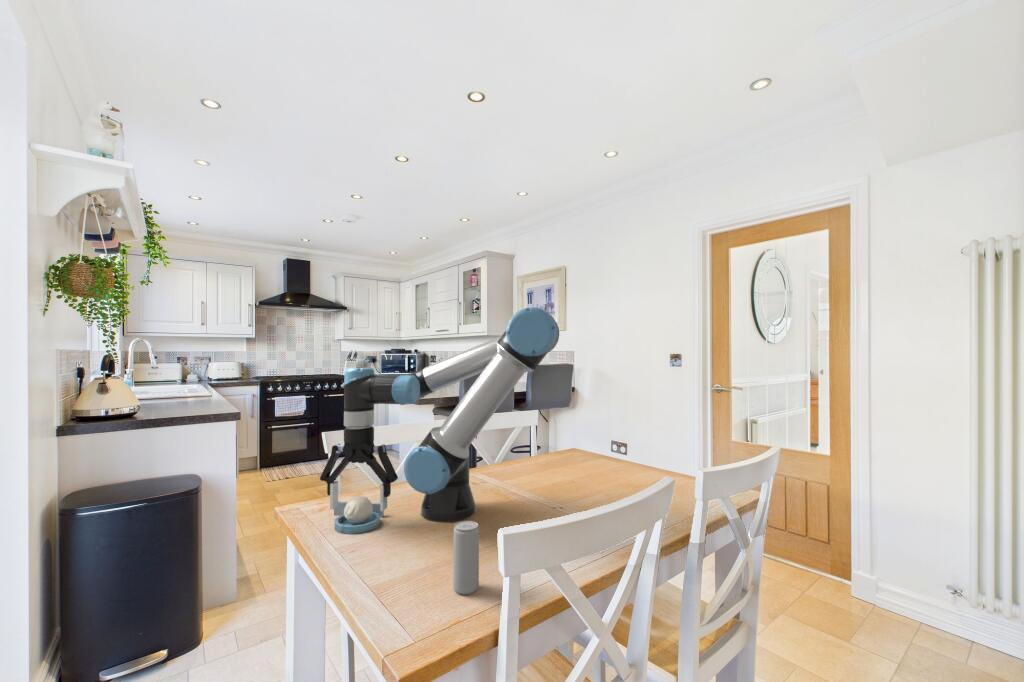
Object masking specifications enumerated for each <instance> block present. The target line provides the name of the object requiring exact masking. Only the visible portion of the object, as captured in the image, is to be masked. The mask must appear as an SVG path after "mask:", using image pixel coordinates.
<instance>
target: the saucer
mask: <svg viewBox="0 0 1024 682" xmlns="http://www.w3.org/2000/svg"><path fill="white" fill-rule="evenodd" d="M380 523H381V517H380V516H379V514H378V513H375V512H372V514H371V516H370V518H369V519H368V520H367V521H365V522H363V523H360V524H353V523H351V522H349V521H348V520H347V519H346V518H345V516H344V515H338V517H336V518H334V530H335V532H337V533H340V534H343V535H345V534H346V535H355V534H356V535H357V534H363V533H367V532H370V531H373V530H375V529H376V528H378V527H379V525H380Z"/></svg>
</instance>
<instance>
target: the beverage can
mask: <svg viewBox="0 0 1024 682" xmlns="http://www.w3.org/2000/svg"><path fill="white" fill-rule="evenodd" d="M452 554H453V565H452V567H453V571H452V572H453V573H452V574H453V578H452V580H453V581H452V582H453V583H452V585H453V586H452V587H453V590H454V591H455V593H457V594H459V595H464V596H468V595H472V594H474V593H476V591H477V590H478V589H479V587H480V584H479V582H480V579H479V578H480V528H479V523H477V522H476V521H472V520H464V521H463V520H461V521H457V522H456V523H454V526H453V553H452Z"/></svg>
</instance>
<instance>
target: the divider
mask: <svg viewBox="0 0 1024 682" xmlns="http://www.w3.org/2000/svg"><path fill="white" fill-rule="evenodd" d="M348 502H349V501H341V500H340V501H339V500H338V506H337V507H336V508H334V509H333V515H334V516H341V515H344V508H345V506H346V504H347V503H348ZM371 503H372V507H373V510H372V512H375V513H378V514H379V516H380V518H383V517H385V515H384V514H385V510H384V511H380V502H371Z"/></svg>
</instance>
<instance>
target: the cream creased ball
mask: <svg viewBox="0 0 1024 682" xmlns="http://www.w3.org/2000/svg"><path fill="white" fill-rule="evenodd" d="M347 502H348V503H347V504H346V506H345V508H344V516H345V518H346V519H347V520H348V521H349V522H351V523H353V524H360V523H363V522H365V521H367V520H368V519H369V518H370V516H371V514H372V510H373V507H372V503H373V502H372V501H371V500H370V499H369V498H368V497H366V496H364V495H363V496H362V495H358V496H355V497H352V498H350V499H349V500H348V501H347Z"/></svg>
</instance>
